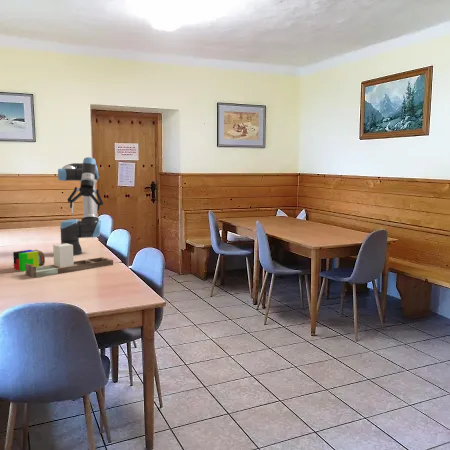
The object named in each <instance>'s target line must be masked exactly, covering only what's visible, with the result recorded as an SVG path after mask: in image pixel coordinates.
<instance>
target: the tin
mask: <svg viewBox="0 0 450 450" xmlns="http://www.w3.org/2000/svg"><path fill="white" fill-rule="evenodd" d="M33 251H37V252H38V256H39V266H43V265H44V264H45V263H46V259H45V254H44V253H43V251H41V250H38V249H33ZM44 266H45V265H44Z"/></svg>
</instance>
